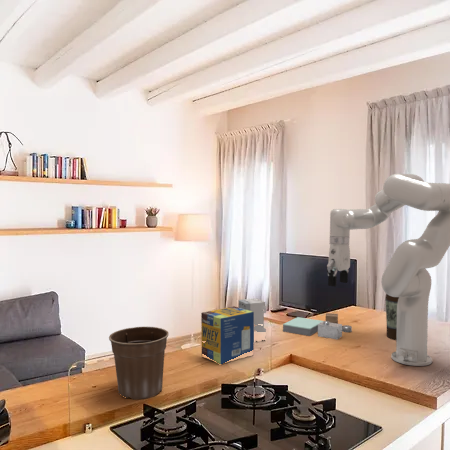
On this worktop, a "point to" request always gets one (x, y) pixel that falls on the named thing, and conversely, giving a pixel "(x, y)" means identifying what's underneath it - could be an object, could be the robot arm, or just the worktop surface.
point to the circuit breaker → (255, 311)
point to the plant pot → (139, 360)
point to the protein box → (227, 333)
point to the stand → (302, 326)
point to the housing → (330, 330)
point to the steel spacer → (346, 328)
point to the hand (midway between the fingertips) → (338, 284)
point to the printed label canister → (391, 316)
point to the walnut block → (332, 317)
